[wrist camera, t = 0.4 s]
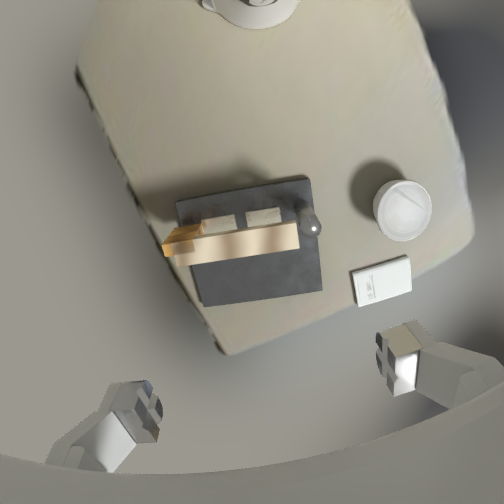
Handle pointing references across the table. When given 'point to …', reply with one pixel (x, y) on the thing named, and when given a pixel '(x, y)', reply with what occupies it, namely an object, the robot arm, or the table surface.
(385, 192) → the ramekin
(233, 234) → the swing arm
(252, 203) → the base plate
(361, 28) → the table surface
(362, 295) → the external hard drive
